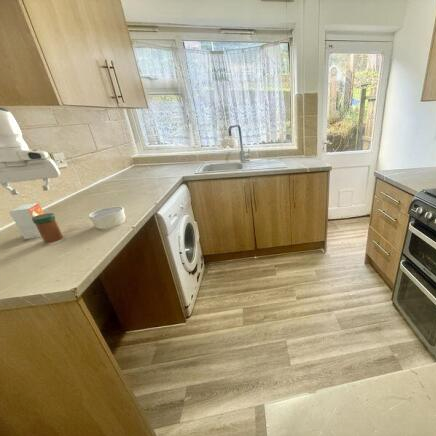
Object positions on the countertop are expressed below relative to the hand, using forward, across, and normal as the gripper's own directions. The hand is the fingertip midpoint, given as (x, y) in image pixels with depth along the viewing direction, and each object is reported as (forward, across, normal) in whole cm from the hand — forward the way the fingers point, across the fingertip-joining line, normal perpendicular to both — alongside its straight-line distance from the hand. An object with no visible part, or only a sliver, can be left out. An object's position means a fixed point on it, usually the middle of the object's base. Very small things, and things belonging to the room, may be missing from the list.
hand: (31, 192), depth 93 cm
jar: (+21, 0, 0) cm, 21 cm away
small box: (+21, -7, +12) cm, 25 cm away
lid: (+10, 0, 0) cm, 10 cm away
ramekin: (+21, +20, +4) cm, 29 cm away
